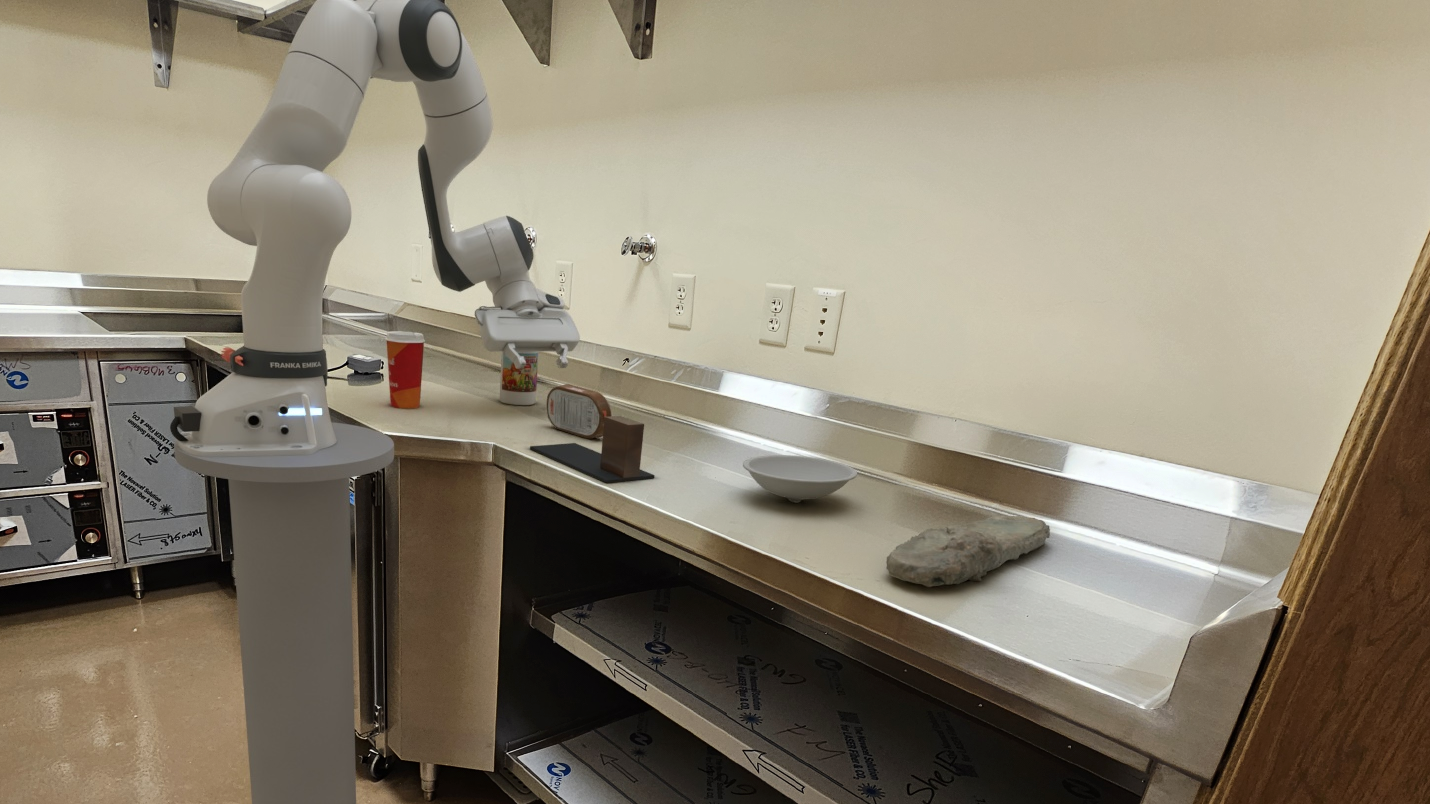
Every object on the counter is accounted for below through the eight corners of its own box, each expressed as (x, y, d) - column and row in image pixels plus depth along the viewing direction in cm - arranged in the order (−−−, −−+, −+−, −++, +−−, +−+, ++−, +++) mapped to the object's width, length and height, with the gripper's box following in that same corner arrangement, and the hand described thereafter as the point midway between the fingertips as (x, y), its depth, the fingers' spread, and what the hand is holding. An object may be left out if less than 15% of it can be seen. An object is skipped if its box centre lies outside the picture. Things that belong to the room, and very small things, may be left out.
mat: (606, 483, 122) (606, 480, 122) (529, 449, 139) (529, 446, 139) (654, 478, 127) (654, 475, 127) (574, 445, 144) (574, 442, 144)
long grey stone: (1065, 556, 110) (989, 538, 117) (1074, 517, 109) (997, 502, 116) (948, 600, 87) (861, 574, 94) (958, 551, 85) (869, 528, 92)
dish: (785, 521, 111) (791, 485, 110) (715, 492, 123) (720, 458, 121) (874, 509, 120) (881, 475, 119) (802, 483, 132) (807, 452, 130)
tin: (610, 441, 149) (615, 394, 146) (598, 443, 147) (602, 395, 144) (554, 425, 159) (557, 380, 156) (542, 426, 157) (544, 381, 154)
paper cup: (391, 400, 169) (390, 329, 165) (428, 404, 169) (429, 332, 164) (380, 407, 162) (379, 333, 157) (419, 411, 162) (420, 336, 157)
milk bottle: (491, 400, 179) (495, 303, 172) (519, 398, 184) (523, 303, 177) (515, 407, 174) (520, 307, 167) (543, 404, 179) (548, 307, 172)
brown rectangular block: (623, 478, 124) (628, 424, 121) (599, 468, 128) (604, 416, 126) (639, 476, 126) (644, 423, 123) (615, 466, 130) (620, 415, 127)
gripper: (477, 295, 155) (501, 356, 151) (569, 298, 166) (593, 356, 162) (466, 317, 160) (488, 377, 156) (556, 319, 171) (579, 375, 167)
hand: (543, 366), depth 159 cm, fingers open, 8 cm apart
